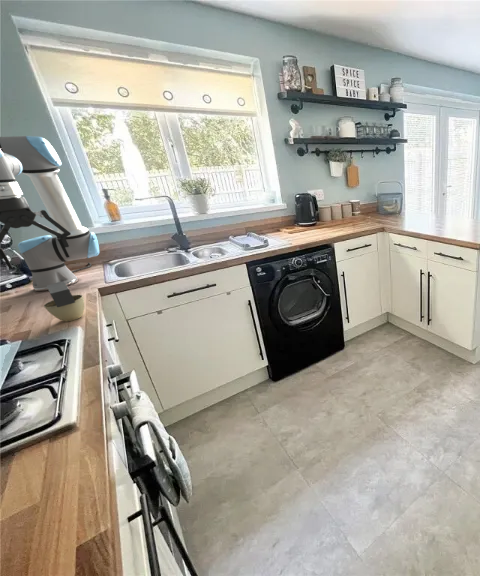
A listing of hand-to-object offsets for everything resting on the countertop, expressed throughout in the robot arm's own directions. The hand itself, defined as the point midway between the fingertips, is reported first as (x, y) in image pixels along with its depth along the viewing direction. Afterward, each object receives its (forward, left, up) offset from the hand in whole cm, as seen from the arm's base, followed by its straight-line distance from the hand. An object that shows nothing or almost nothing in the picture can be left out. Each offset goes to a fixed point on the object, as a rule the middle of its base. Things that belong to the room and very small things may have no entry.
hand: (40, 262), depth 104 cm
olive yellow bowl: (+2, +2, -21) cm, 21 cm away
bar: (+2, +2, -14) cm, 14 cm away
